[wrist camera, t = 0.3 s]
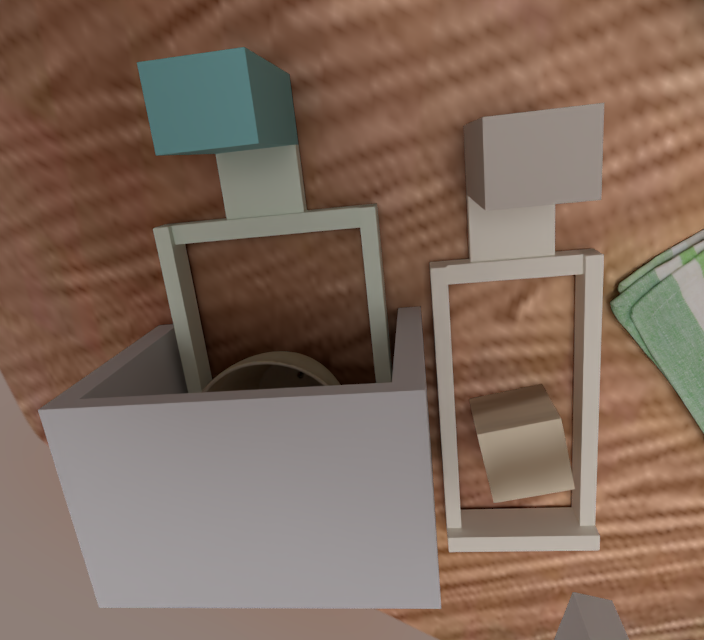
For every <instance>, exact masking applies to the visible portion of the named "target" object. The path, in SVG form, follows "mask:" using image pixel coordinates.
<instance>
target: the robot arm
mask: <svg viewBox="0 0 704 640" xmlns="http://www.w3.org/2000/svg"><path fill="white" fill-rule="evenodd" d="M554 640H629V638H628V636H627V634H626V631H625V629H624V627H623V625H622V622H621V620H620V618H619V615H618V613H617V611H616V609H615V606H614V604H613V602H612V600H607V599H603V598H598V597H593V596H589V595H584V594H580V593H575V592H573V593H572V596H571V598H570V601H569V603H568V606H567V608H566V611H565V613H564V616H563V618H562V621H561V623H560V626H559V628H558V631H557V634H556V636H555V639H554Z"/></svg>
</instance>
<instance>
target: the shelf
mask: <svg viewBox="0 0 704 640" xmlns="http://www.w3.org/2000/svg"><path fill="white" fill-rule="evenodd" d="M38 412H39V415H40V418H41V421H42V425H43V428H44V431H45V434H46V438H47V441H48V444H49V447H50V450H51V454H52V457H53V460H54V463H55V466H56V470H57V473H58V476H59V480H60V483H61V486H62V489H63V493H64V496H65V499H66V502H67V505H68V509H69V511H70V515H71V518H72V521H73V525H74V528H75V531H76V535H77V538H78V541H79V544H80V547H81V551H82V554H83V557H84V561H85V563H86V567H87V570H88V573H89V577H90V580H91V583H92V586H93V590H94V593H95V596H96V599H97V603H98V606H99V608H399V609H441V598H440V582H439V566H438V550H437V535H436V519H435V503H434V487H433V472H432V457H431V443H430V429H429V415H428V401H427V387H426V373H425V359H424V345H423V331H422V316H421V306H419V307H405V308H398V316H397V328H396V339H395V351H394V363H393V374H392V382H389V383H370V384H351V385H333V386H314V387H296V388H277V389H258V390H240V391H221V392H202V393H188V390H187V385H186V380H185V376H184V371H183V366H182V362H181V357H180V352H179V348H178V343H177V339H176V334H175V329H174V325H173V324H169V325H159V326H157V327H156V328H154V329H153V330H152V331H150V332H149V333H147V334H146V335H144V336H143V337H142V338H140V339H139V340H137V341H136V342H134V343H133V344H132V345H130V346H129V347H127V348H126V349H124V350H123V351H122V352H120V353H119V354H117V355H116V356H114V357H113V358H112V359H110V360H109V361H107V362H106V363H104V364H103V365H102V366H100V367H99V368H97V369H96V370H94V371H93V372H92V373H90V374H89V375H87V376H86V377H84V378H83V379H81V380H80V381H79V382H77V383H76V384H74V385H73V386H71V387H70V388H69V389H67V390H66V391H64V392H63V393H61V394H60V395H59V396H57V397H56V398H54V399H53V400H51V401H50V402H49V403H47V404H46V405H44V406H43V407H41V408H40V409H39V410H38Z"/></svg>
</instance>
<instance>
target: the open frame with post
mask: <svg viewBox="0 0 704 640" xmlns="http://www.w3.org/2000/svg"><path fill="white" fill-rule="evenodd" d="M463 127H464V151H465V174H466V198H467V221H468V245H469V259H460V260H448V261H436V262H429V263H430V279H431V294H432V310H433V325H434V341H435V356H436V372H437V387H438V402H439V418H440V433H441V449H442V464H443V480H444V495H445V511H446V525H447V536H448V547H449V552H497V551H587V550H599V548H600V535H599V533H598V530H597V528H596V526H595V513H596V483H597V452H598V422H599V391H600V360H601V330H602V299H603V269H604V254H602V253H600V252H598V251H597V250H595V249H593V248H592V249H580V250H568V251H556V252H555V204H562V203H573V202H583V201H594V200H601V193H602V160H603V127H604V103H599V104H590V105H582V106H573V107H565V108H556V109H548V110H539V111H531V112H522V113H514V114H505V115H497V116H488V117H482V118H479V119H477V120H475V121H473V122H470V123H468V124H466V125H464V126H463ZM566 275H576V278H575V336H574V395H573V453H572V476H573V481H574V486H575V489H573V490H572V507H560V508H513V509H467V510H460V492H459V474H458V456H457V438H456V419H455V401H454V383H453V365H452V347H451V328H450V310H449V292H448V285H449V284H462V283H475V282H488V281H501V280H514V279H527V278H540V277H553V276H566Z"/></svg>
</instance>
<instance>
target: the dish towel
mask: <svg viewBox="0 0 704 640" xmlns="http://www.w3.org/2000/svg"><path fill="white" fill-rule="evenodd" d="M618 291H619V293H620V295H619V296H618V297H616V298H615V299H614V300H612V301H611V302H610V305H611V309H612V311H613V313H614V315H615V316H616V318H617V320H618V321H619V322H620V323H621V325H622V326H623V327H624V328H625V329H626V330H627V331H628V332H629V333H630V335H631V336H632V337H633V338H634V340H635V341H636V342H637V343H638V345H639V346H640V347H641V348H642V349H643V351H644V352H645V353H646V354H647V356H648V357H649V358H650V359H651V360H652V361H653V362H654V363H655V364H656V366H657V367H658V368H659V369H660V371H661V372H662V373H663V375H664V376H665V377H666V379H667V380H668V381H669V383H670V384H671V385H672V387H673V388H674V389H675V391H676V392H677V393H678V395H679V396H680V398H681V399H682V401H683V403H684V404H685V406H686V407H687V409H688V410H689V412H690V413H691V415H692V416H693V418H694V419H695V421H696V423H697V424H698V425H699V427H700V429H701V430H702V432H703V433H704V230H702V231H700V232H698V233H696V234H695V235H693V236H691V237H690V238H688V239H686V240H684V241H682V242H681V243H679V244H677V245H675V246H674V247H672V248H670V249H668V250H667V251H665V252H663V253H661V254H660V255H658V256H656V257H655V258H654V259H653V260H651V261H650V262H648V263H647V264H645V265H644V266H642V267H641V268H639V269H638V270H636V271H635V272H634V273H633V274H631V275H630V276H629V277H627V278H626V279H625V280H623V281H622V282H621V283H619V286H618Z"/></svg>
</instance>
